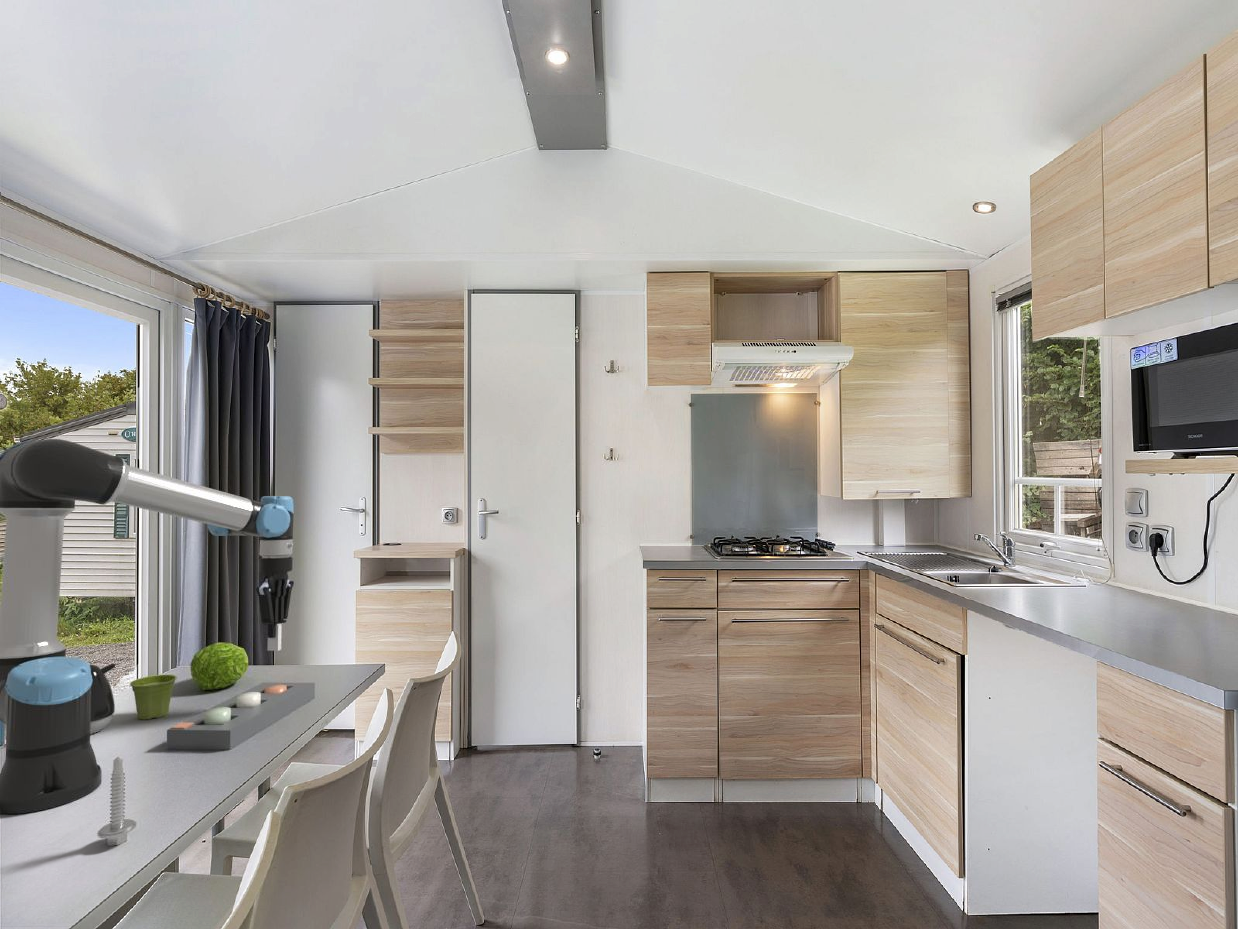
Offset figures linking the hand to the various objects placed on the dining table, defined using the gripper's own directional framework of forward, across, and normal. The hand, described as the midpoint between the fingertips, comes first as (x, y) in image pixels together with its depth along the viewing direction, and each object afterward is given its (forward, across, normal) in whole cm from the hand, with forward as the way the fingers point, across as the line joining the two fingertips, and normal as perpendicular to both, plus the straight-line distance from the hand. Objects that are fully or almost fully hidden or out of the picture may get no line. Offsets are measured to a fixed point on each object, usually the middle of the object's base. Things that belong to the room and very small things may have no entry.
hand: (274, 650), depth 168 cm
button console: (+14, -10, 0) cm, 18 cm away
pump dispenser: (+15, -18, +33) cm, 40 cm away
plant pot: (+15, -8, +26) cm, 30 cm away
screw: (+15, -64, -13) cm, 67 cm away
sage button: (+12, -22, 0) cm, 25 cm away
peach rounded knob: (+13, 0, 0) cm, 13 cm away
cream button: (+12, -11, 0) cm, 16 cm away
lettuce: (+14, +20, +27) cm, 36 cm away
